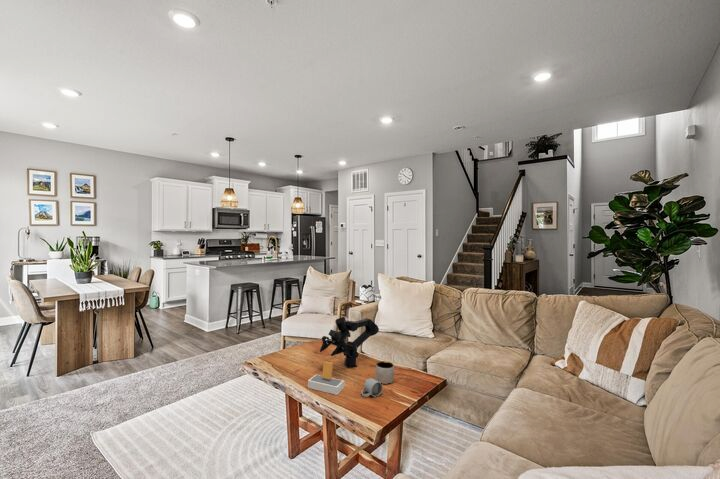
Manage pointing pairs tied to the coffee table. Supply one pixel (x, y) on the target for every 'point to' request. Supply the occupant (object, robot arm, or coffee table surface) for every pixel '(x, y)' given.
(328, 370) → the lever
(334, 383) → the breaker housing
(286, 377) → the coffee table surface
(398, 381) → the coffee table surface
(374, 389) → the ceramic mug
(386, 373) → the planter
